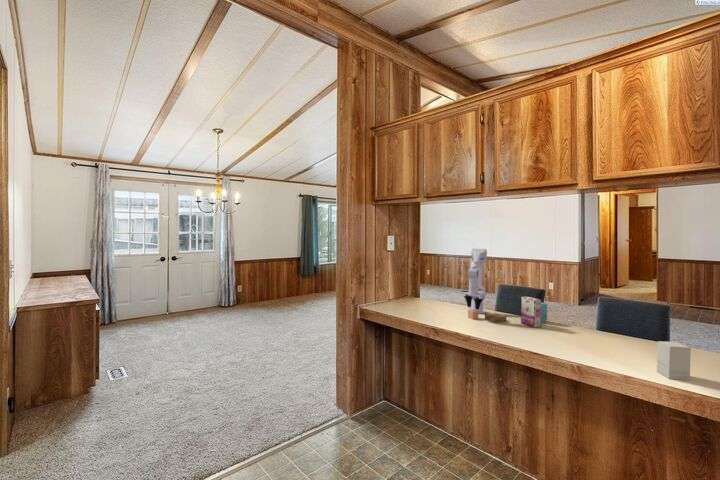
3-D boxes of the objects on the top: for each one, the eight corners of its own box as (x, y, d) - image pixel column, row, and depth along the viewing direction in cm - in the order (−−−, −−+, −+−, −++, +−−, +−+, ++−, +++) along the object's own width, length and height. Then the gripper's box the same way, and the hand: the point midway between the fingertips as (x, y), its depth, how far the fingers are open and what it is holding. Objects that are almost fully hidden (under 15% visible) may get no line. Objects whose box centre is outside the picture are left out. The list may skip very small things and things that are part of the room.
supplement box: (690, 380, 133) (691, 347, 133) (668, 379, 135) (669, 346, 134) (676, 372, 141) (677, 341, 140) (655, 371, 142) (656, 340, 142)
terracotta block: (468, 317, 228) (468, 310, 227) (473, 317, 229) (473, 309, 229) (472, 319, 223) (472, 311, 223) (478, 318, 225) (478, 311, 225)
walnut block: (484, 319, 224) (484, 314, 224) (495, 318, 228) (495, 313, 228) (495, 323, 216) (495, 317, 216) (506, 321, 219) (506, 316, 219)
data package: (547, 322, 217) (547, 303, 216) (543, 323, 214) (543, 304, 214) (528, 318, 226) (528, 300, 226) (524, 319, 224) (524, 300, 223)
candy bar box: (541, 327, 206) (541, 299, 205) (534, 328, 204) (534, 300, 204) (527, 322, 216) (527, 296, 216) (520, 323, 215) (520, 296, 215)
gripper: (461, 285, 231) (460, 306, 231) (476, 289, 217) (476, 310, 218) (469, 285, 234) (469, 305, 234) (485, 288, 220) (484, 310, 221)
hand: (473, 308), depth 226 cm, fingers open, 7 cm apart
